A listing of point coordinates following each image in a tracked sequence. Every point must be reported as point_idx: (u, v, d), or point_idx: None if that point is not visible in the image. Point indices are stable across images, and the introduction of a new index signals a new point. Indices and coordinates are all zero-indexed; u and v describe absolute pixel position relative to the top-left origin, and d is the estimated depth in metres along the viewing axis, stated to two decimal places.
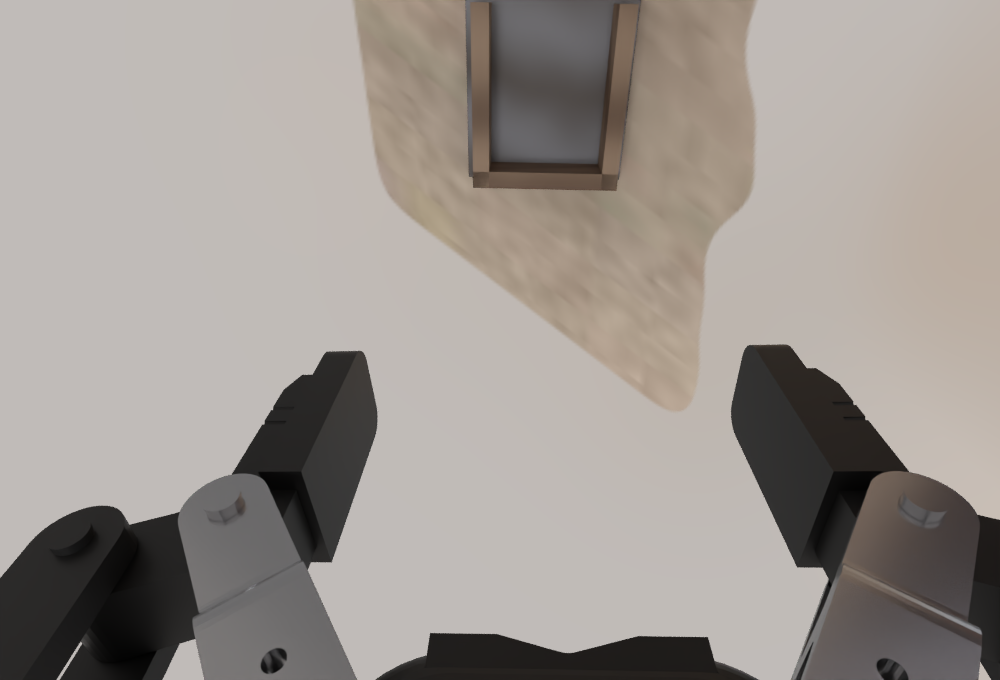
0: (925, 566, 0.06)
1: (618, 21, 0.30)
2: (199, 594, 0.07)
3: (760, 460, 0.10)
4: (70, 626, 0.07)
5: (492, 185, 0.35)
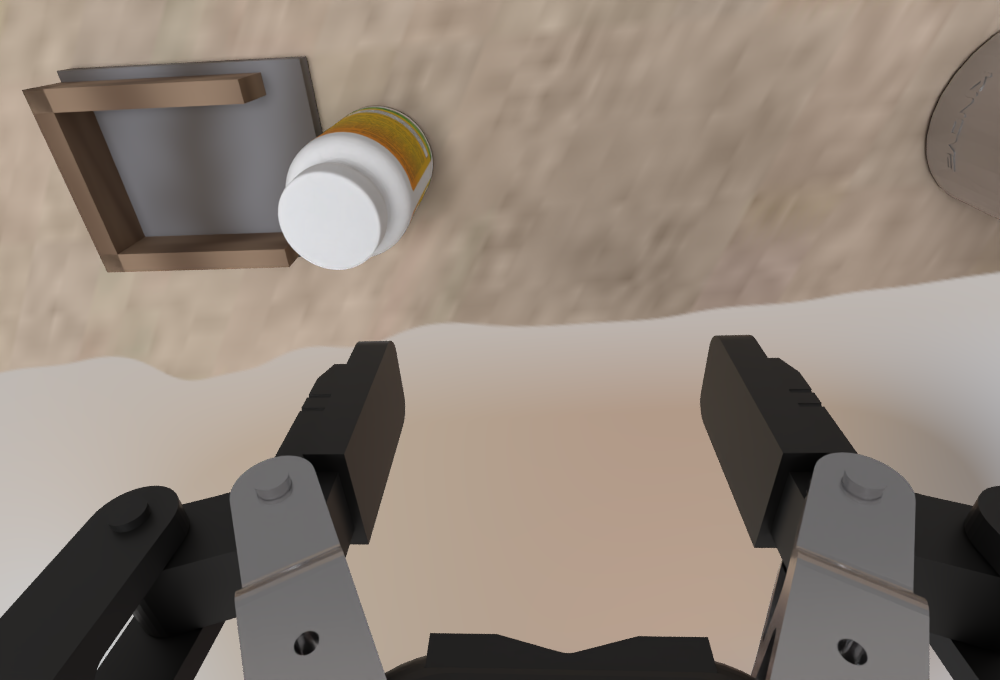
0: (870, 543, 0.07)
1: (269, 249, 0.29)
2: (243, 569, 0.07)
3: (724, 447, 0.11)
4: (121, 602, 0.07)
5: (38, 118, 0.25)
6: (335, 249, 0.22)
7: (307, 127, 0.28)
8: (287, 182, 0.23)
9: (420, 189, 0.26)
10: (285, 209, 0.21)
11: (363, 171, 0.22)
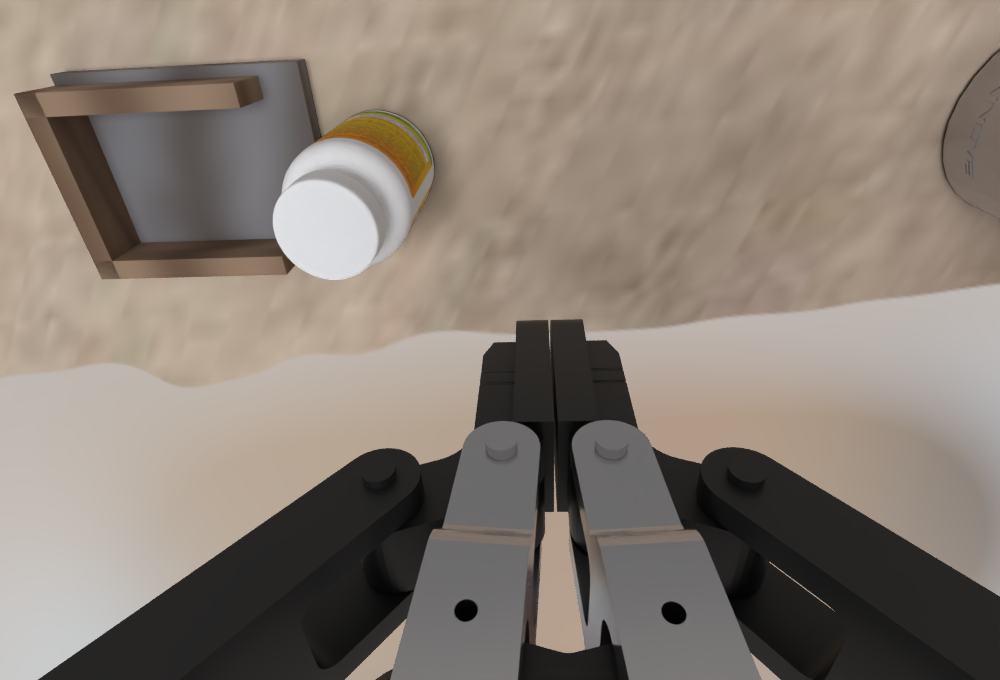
0: (638, 498, 0.08)
1: (267, 256, 0.28)
2: (449, 511, 0.08)
3: None
4: (343, 557, 0.07)
5: (31, 123, 0.25)
6: (332, 259, 0.21)
7: (305, 131, 0.27)
8: (283, 189, 0.22)
9: (420, 196, 0.25)
10: (280, 218, 0.20)
11: (361, 178, 0.21)
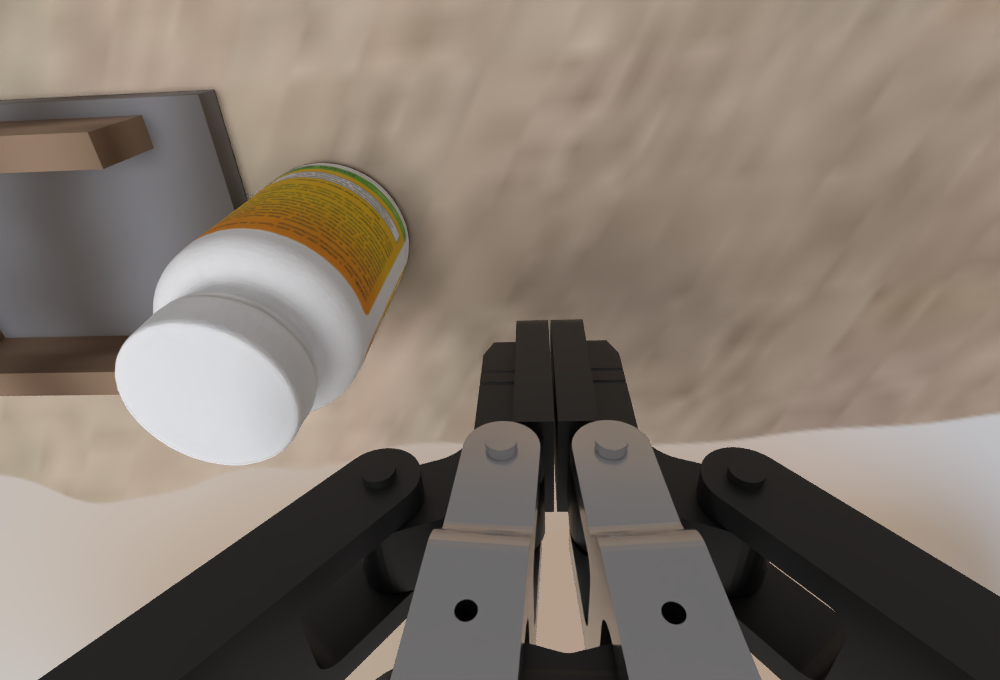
0: (638, 497, 0.08)
1: None
2: (450, 511, 0.07)
3: None
4: (343, 557, 0.07)
5: None
6: (225, 438, 0.13)
7: (219, 194, 0.18)
8: (153, 309, 0.14)
9: (383, 299, 0.16)
10: (127, 378, 0.12)
11: (274, 300, 0.13)
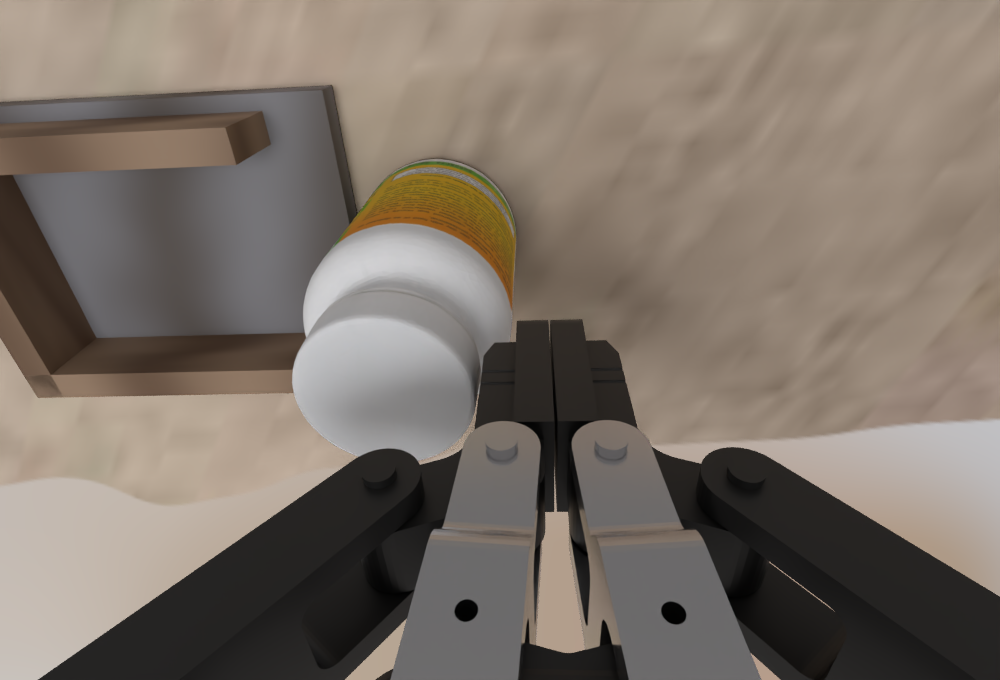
0: (638, 497, 0.08)
1: (276, 369, 0.19)
2: (450, 511, 0.08)
3: None
4: (343, 557, 0.07)
5: None
6: (393, 435, 0.12)
7: (332, 191, 0.18)
8: (306, 306, 0.14)
9: None
10: (305, 375, 0.12)
11: (439, 295, 0.13)
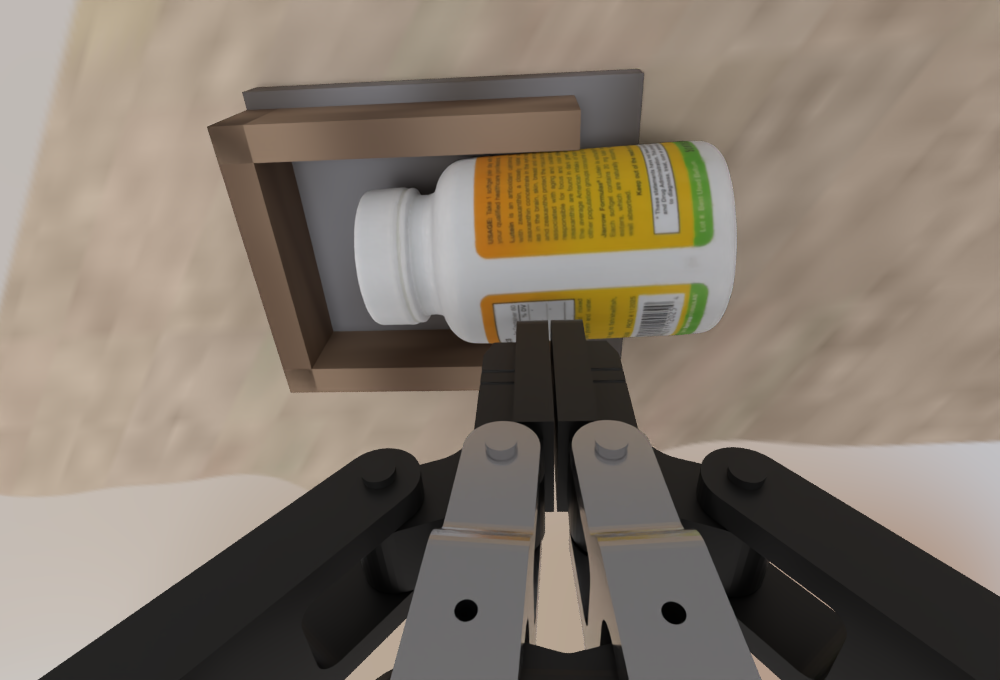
0: (638, 497, 0.08)
1: None
2: (449, 512, 0.07)
3: None
4: (343, 557, 0.07)
5: (226, 172, 0.15)
6: None
7: None
8: None
9: (556, 273, 0.14)
10: None
11: (428, 206, 0.15)
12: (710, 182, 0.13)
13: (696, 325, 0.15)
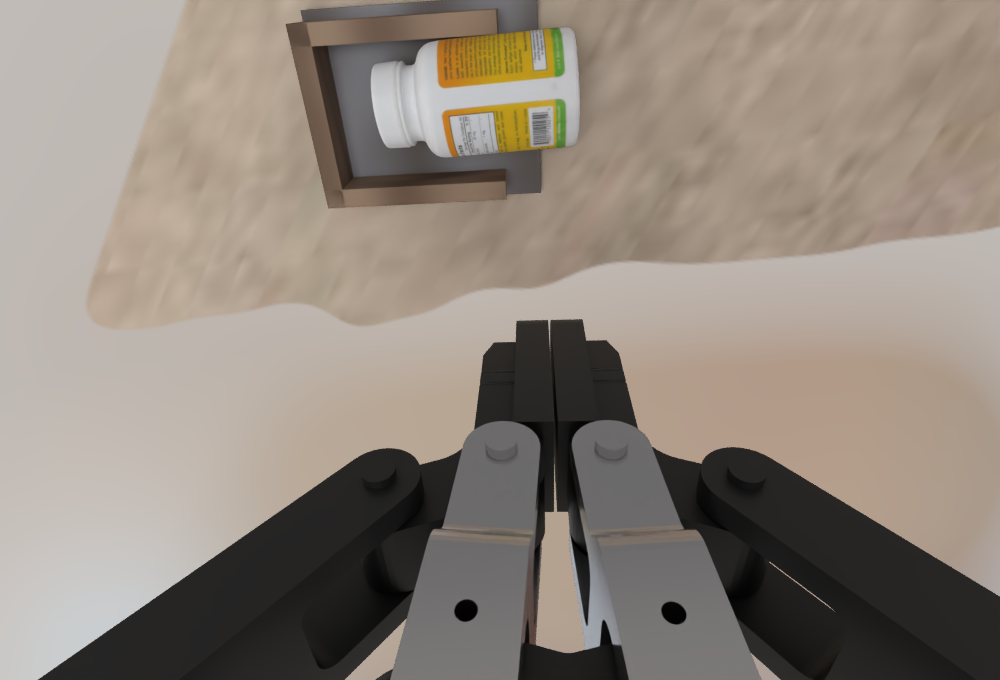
0: (638, 497, 0.08)
1: (490, 182, 0.30)
2: (449, 512, 0.07)
3: None
4: (343, 557, 0.07)
5: (295, 52, 0.27)
6: None
7: None
8: None
9: (482, 95, 0.25)
10: None
11: (412, 67, 0.26)
12: (563, 43, 0.25)
13: (564, 131, 0.26)
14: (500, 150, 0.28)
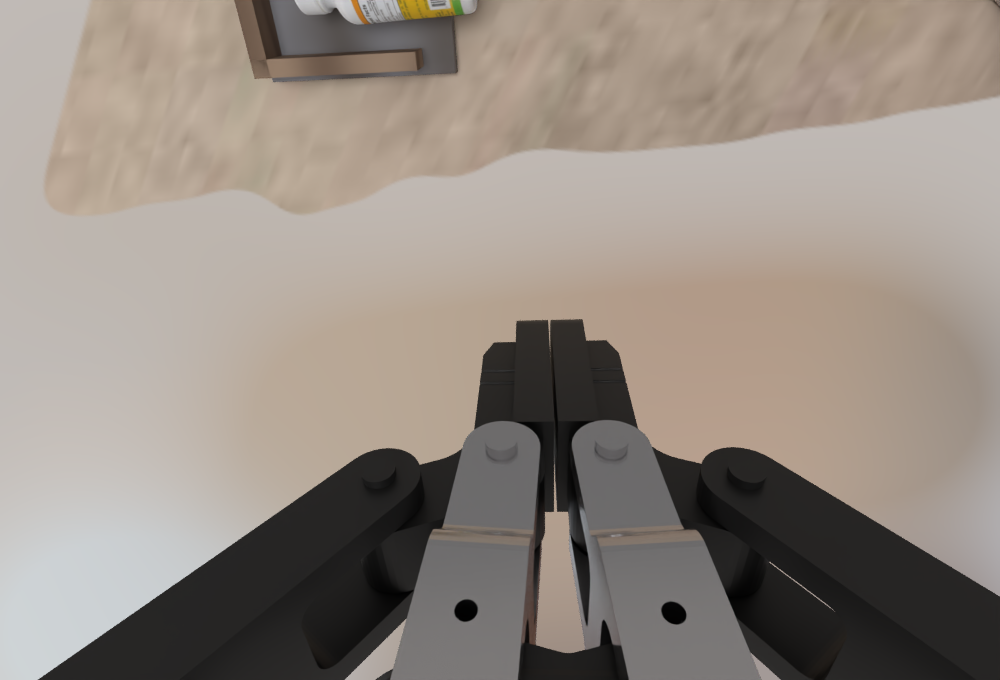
0: (638, 497, 0.08)
1: (401, 52, 0.33)
2: (449, 511, 0.08)
3: None
4: (343, 557, 0.07)
5: None
6: None
7: None
8: None
9: None
10: None
11: None
12: None
13: None
14: (403, 13, 0.30)
